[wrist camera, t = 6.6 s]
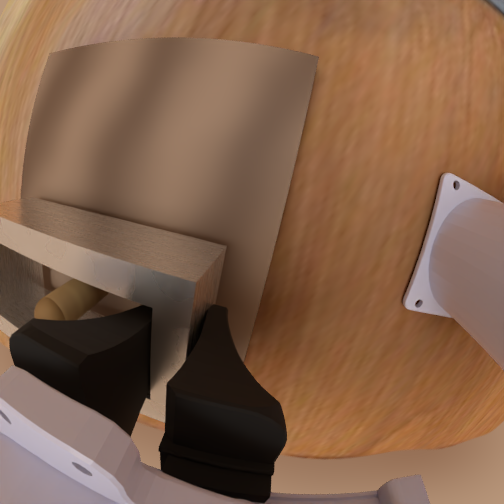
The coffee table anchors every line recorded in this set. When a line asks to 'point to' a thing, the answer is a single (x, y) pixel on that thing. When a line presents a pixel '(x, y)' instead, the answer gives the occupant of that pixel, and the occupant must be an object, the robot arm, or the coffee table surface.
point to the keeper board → (171, 154)
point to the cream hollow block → (111, 275)
